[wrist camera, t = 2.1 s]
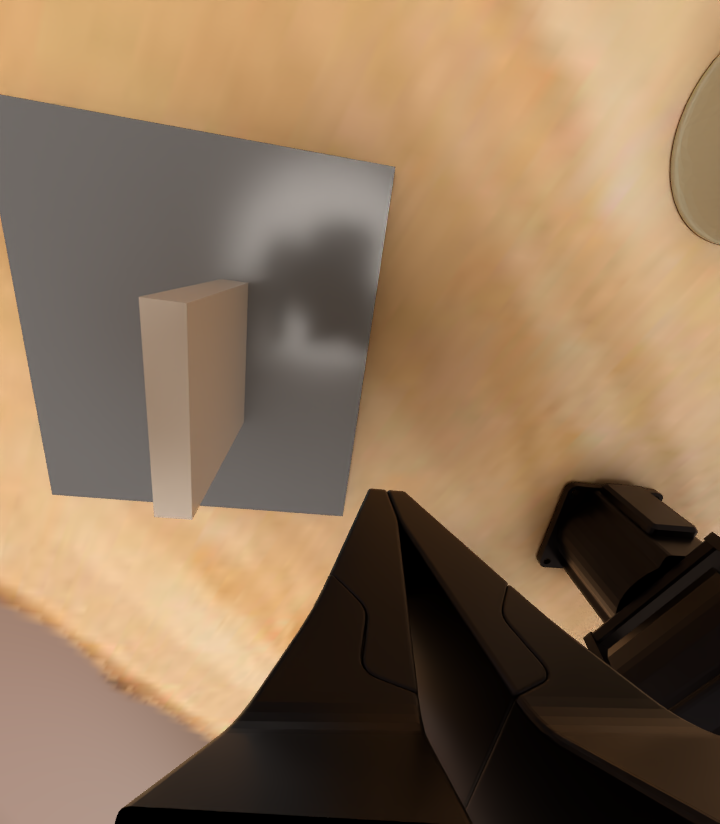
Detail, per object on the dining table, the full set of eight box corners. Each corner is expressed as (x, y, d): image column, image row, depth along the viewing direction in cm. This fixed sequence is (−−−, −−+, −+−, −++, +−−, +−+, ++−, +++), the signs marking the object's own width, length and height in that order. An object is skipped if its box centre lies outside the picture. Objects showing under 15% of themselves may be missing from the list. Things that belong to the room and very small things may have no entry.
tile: (243, 422, 20) (192, 519, 13) (216, 419, 20) (147, 516, 12) (248, 282, 17) (186, 303, 10) (216, 278, 17) (130, 295, 10)
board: (342, 506, 24) (342, 516, 23) (64, 484, 22) (52, 494, 21) (392, 171, 17) (395, 166, 16) (-2, 100, 15) (-23, 90, 14)
